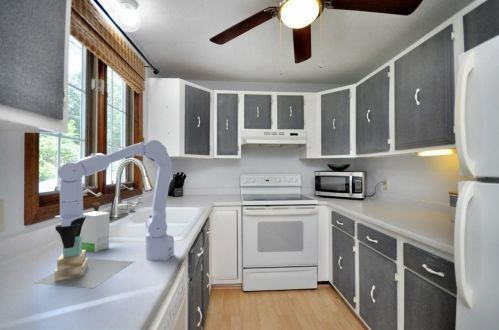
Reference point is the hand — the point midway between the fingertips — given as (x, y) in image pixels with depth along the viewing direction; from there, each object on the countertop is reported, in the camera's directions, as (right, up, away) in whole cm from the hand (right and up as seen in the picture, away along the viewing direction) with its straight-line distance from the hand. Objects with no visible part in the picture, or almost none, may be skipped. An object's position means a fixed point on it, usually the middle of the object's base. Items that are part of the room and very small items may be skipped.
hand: (72, 243), depth 70 cm
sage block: (0, -3, 0) cm, 3 cm away
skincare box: (-8, -11, +21) cm, 25 cm away
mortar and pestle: (-16, -11, +34) cm, 39 cm away
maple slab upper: (0, -6, 0) cm, 6 cm away
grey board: (+4, -10, +1) cm, 11 cm away
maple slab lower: (0, -9, 0) cm, 9 cm away
